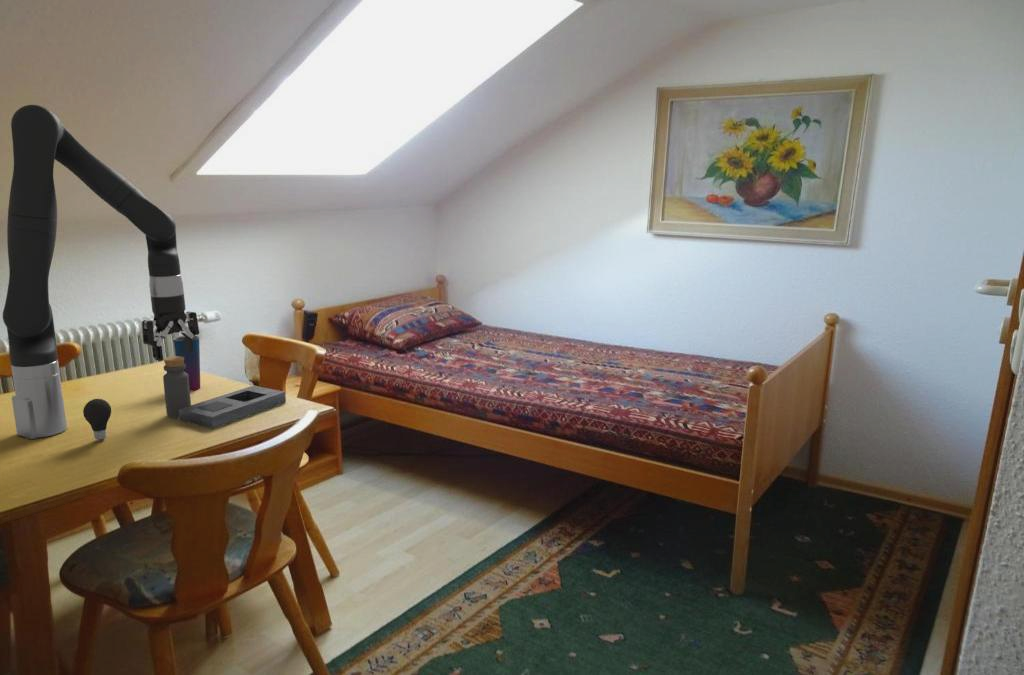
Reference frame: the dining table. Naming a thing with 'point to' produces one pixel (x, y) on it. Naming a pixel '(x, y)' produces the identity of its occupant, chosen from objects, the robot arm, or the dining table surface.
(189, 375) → the cup
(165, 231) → the robot arm
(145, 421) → the dining table surface
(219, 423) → the panel
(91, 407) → the light bulb
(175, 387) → the bottle
